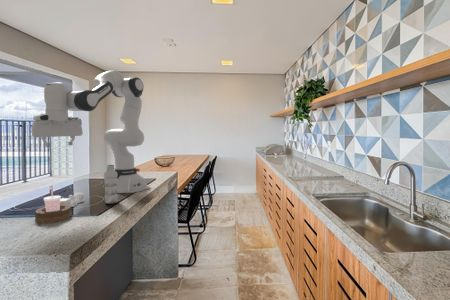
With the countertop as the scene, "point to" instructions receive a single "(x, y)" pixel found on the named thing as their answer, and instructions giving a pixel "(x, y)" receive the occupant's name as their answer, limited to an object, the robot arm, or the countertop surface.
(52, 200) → the beverage cup
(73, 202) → the container set
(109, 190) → the plastic bottle
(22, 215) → the countertop surface
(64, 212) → the walnut ring
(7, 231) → the countertop surface
